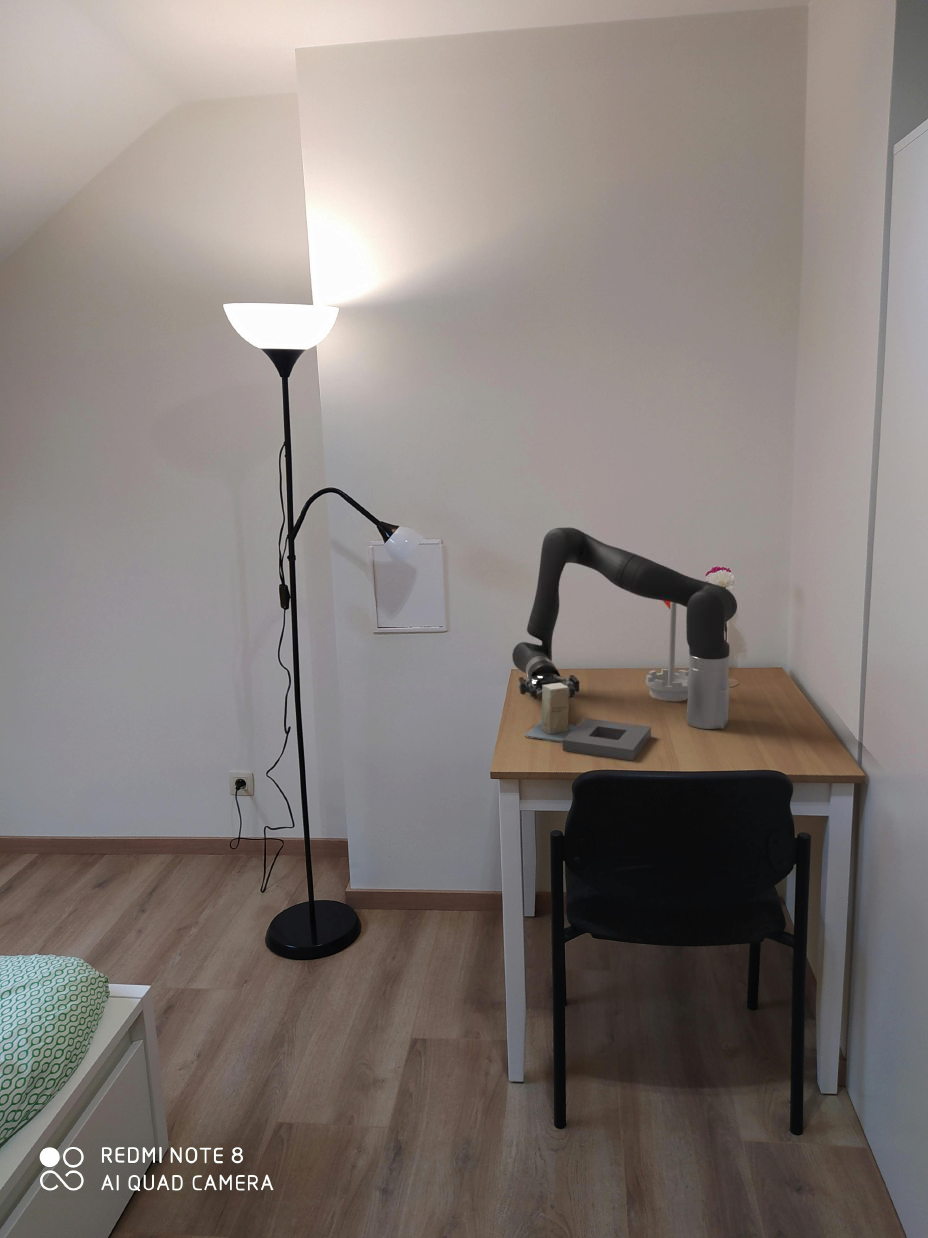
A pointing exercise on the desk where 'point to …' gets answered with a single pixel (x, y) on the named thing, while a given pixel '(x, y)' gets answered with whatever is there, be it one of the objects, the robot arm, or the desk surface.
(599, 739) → the socket block
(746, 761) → the desk surface
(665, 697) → the flag stand
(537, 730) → the pad
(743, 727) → the desk surface
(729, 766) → the desk surface
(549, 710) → the box
